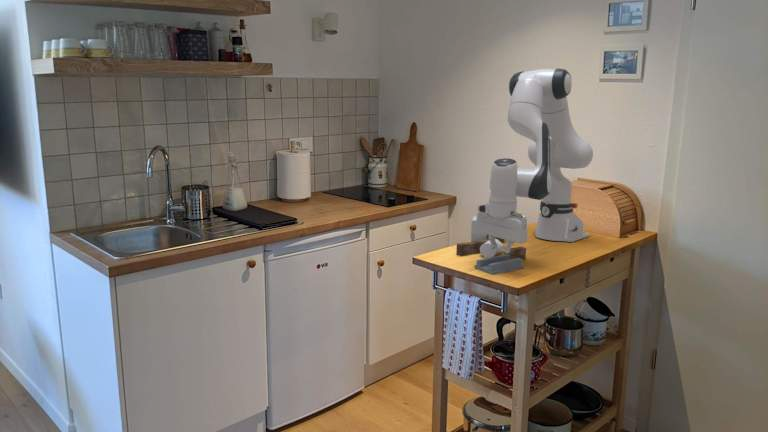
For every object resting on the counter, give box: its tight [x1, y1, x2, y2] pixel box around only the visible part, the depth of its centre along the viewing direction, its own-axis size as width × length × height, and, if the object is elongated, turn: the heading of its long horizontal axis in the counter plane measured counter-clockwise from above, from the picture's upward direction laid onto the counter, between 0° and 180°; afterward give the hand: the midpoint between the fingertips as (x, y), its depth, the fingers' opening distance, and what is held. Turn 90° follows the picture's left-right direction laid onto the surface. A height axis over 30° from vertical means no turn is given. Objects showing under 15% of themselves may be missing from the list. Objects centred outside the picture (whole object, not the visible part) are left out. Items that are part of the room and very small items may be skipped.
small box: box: [470, 215, 487, 242], centre depth 231 cm, size 8×6×10 cm
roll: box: [479, 239, 505, 258], centre depth 219 cm, size 6×12×6 cm, turn 150°
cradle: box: [474, 254, 525, 276], centre depth 202 cm, size 14×8×3 cm, turn 124°
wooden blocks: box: [455, 239, 527, 261], centre depth 216 cm, size 17×17×4 cm
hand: (500, 250), depth 201 cm, fingers open, 4 cm apart
